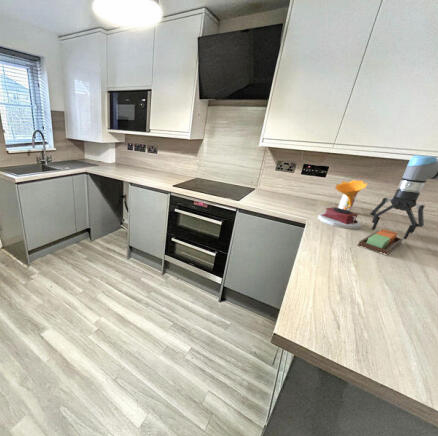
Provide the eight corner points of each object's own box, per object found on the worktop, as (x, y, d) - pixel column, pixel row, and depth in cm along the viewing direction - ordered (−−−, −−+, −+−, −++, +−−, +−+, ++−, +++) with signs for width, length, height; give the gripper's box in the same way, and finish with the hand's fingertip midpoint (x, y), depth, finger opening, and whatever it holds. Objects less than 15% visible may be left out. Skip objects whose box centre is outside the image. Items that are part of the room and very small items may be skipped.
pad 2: (379, 236, 122) (383, 229, 120) (394, 240, 117) (397, 233, 116) (373, 240, 116) (376, 232, 115) (388, 244, 112) (391, 237, 111)
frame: (401, 243, 117) (403, 239, 116) (385, 255, 104) (387, 250, 103) (375, 235, 125) (376, 231, 124) (357, 245, 111) (359, 241, 111)
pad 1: (372, 240, 116) (375, 233, 114) (387, 245, 111) (390, 238, 110) (365, 245, 110) (368, 237, 109) (380, 250, 106) (384, 242, 105)
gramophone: (332, 214, 152) (346, 176, 143) (368, 227, 135) (388, 184, 125) (310, 217, 146) (323, 177, 136) (345, 230, 128) (364, 186, 118)
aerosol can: (343, 213, 156) (355, 183, 149) (334, 209, 163) (345, 181, 155) (352, 213, 157) (364, 184, 150) (343, 209, 164) (354, 181, 156)
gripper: (373, 185, 114) (356, 226, 122) (446, 198, 96) (421, 245, 104) (378, 184, 118) (361, 224, 126) (449, 195, 100) (424, 241, 108)
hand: (388, 233), depth 115 cm, fingers open, 11 cm apart
